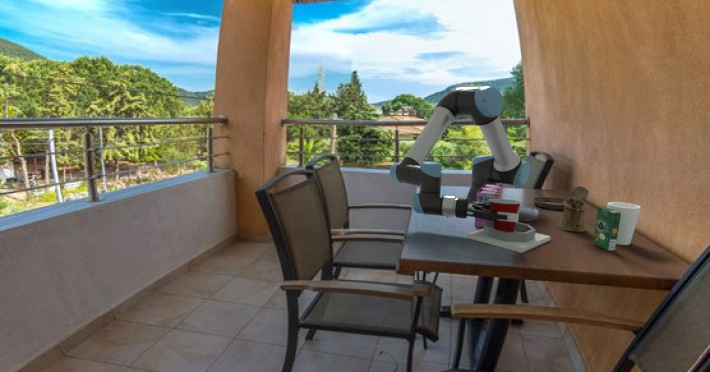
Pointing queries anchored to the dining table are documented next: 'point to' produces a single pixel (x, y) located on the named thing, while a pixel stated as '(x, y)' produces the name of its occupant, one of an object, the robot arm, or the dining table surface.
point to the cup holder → (510, 237)
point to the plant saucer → (539, 201)
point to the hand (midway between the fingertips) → (519, 213)
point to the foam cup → (625, 220)
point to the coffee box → (607, 228)
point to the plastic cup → (506, 207)
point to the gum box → (484, 195)
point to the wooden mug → (574, 211)
